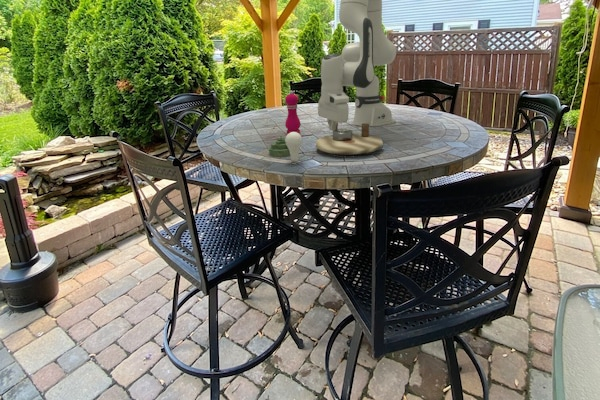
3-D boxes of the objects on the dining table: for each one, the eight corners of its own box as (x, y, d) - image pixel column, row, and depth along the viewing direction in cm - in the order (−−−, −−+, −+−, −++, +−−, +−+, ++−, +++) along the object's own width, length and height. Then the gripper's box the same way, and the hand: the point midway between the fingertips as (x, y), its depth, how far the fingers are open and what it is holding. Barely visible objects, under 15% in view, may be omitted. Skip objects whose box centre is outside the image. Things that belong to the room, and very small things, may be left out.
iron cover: (346, 135, 155) (346, 126, 154) (356, 139, 148) (356, 129, 147) (329, 138, 152) (329, 128, 151) (338, 142, 146) (338, 132, 144)
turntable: (359, 134, 162) (359, 119, 160) (396, 147, 140) (397, 130, 138) (305, 142, 153) (304, 126, 151) (335, 158, 131) (335, 140, 129)
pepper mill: (299, 135, 173) (297, 91, 165) (284, 135, 174) (281, 91, 167) (302, 132, 179) (300, 89, 172) (287, 132, 181) (285, 89, 173)
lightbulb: (292, 158, 139) (291, 129, 135) (306, 160, 136) (305, 131, 132) (283, 163, 135) (281, 133, 130) (296, 165, 131) (295, 134, 127)
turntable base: (357, 140, 159) (357, 137, 159) (384, 151, 142) (384, 147, 142) (315, 147, 152) (315, 143, 152) (339, 159, 135) (339, 155, 135)
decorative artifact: (297, 150, 150) (274, 149, 152) (297, 133, 147) (273, 132, 150) (290, 157, 141) (265, 156, 144) (289, 139, 138) (264, 138, 141)
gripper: (313, 94, 159) (314, 126, 165) (337, 99, 142) (337, 135, 147) (327, 93, 162) (327, 125, 167) (351, 98, 144) (351, 133, 150)
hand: (332, 130), depth 157 cm, fingers closed
